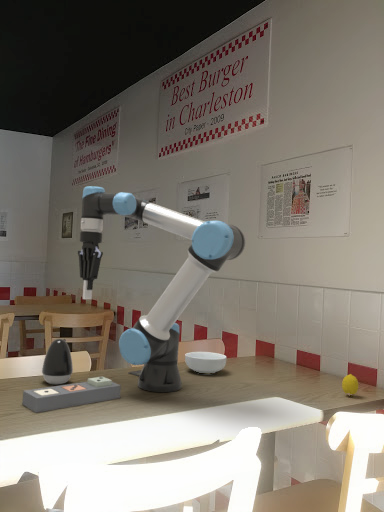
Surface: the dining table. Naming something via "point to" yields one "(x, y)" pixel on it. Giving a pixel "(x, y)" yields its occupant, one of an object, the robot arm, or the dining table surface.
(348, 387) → the lemon
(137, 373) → the smartphone
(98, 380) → the button two sage
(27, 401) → the button panel
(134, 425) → the dining table surface
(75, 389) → the button three terracotta
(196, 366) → the cereal bowl
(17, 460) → the dining table surface
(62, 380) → the black egg-shaped speaker
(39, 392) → the button one cream
